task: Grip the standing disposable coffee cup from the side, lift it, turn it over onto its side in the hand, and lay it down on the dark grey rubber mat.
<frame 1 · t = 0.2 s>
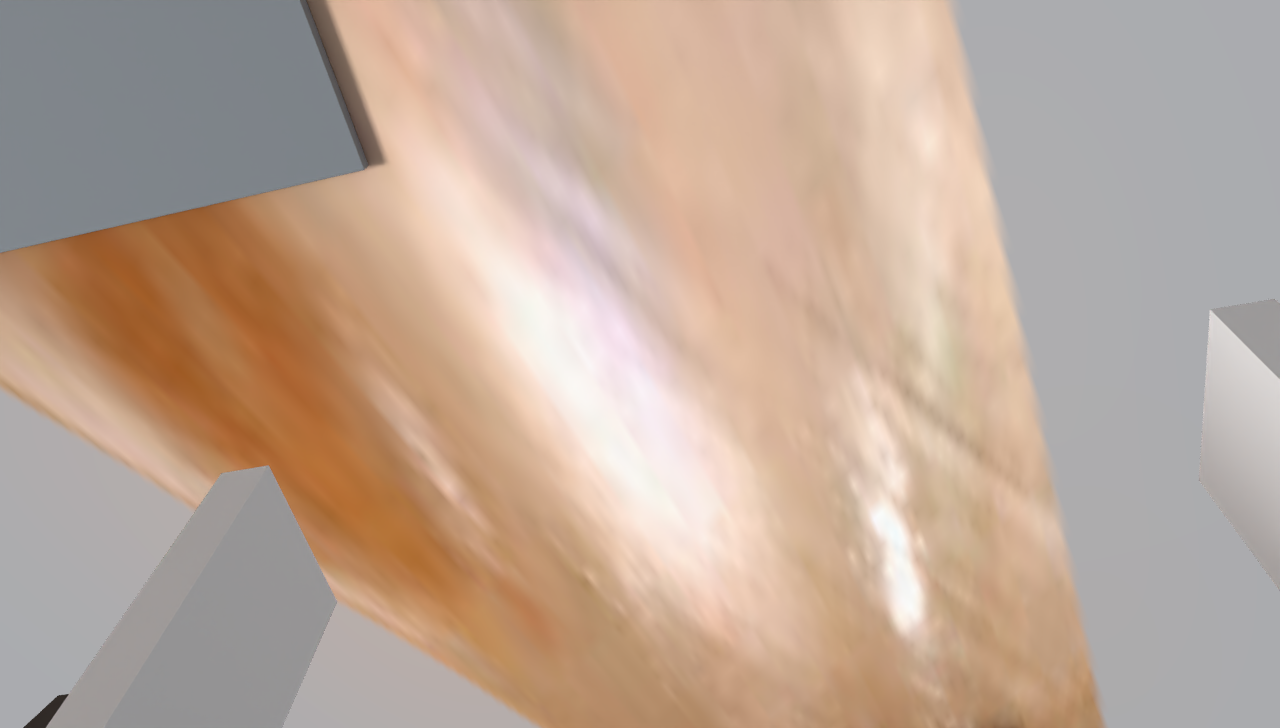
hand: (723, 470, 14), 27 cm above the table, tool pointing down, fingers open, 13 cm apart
mat: (62, 9, 38), on the table
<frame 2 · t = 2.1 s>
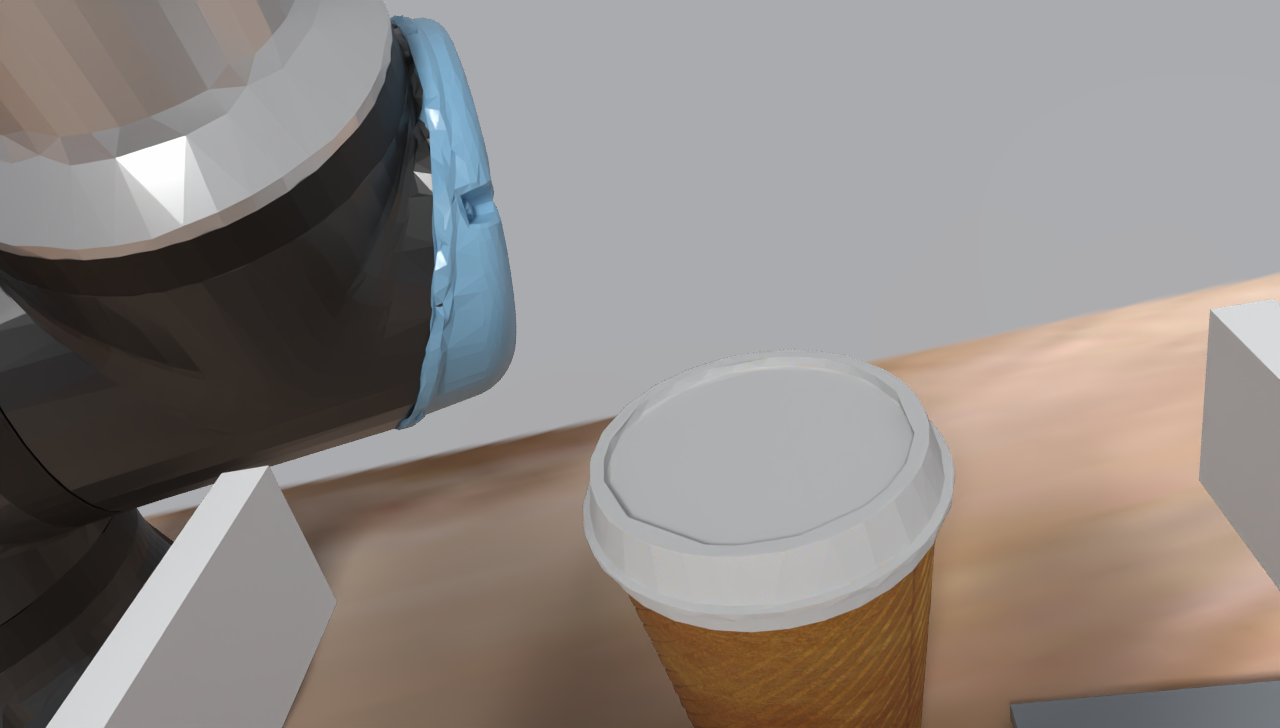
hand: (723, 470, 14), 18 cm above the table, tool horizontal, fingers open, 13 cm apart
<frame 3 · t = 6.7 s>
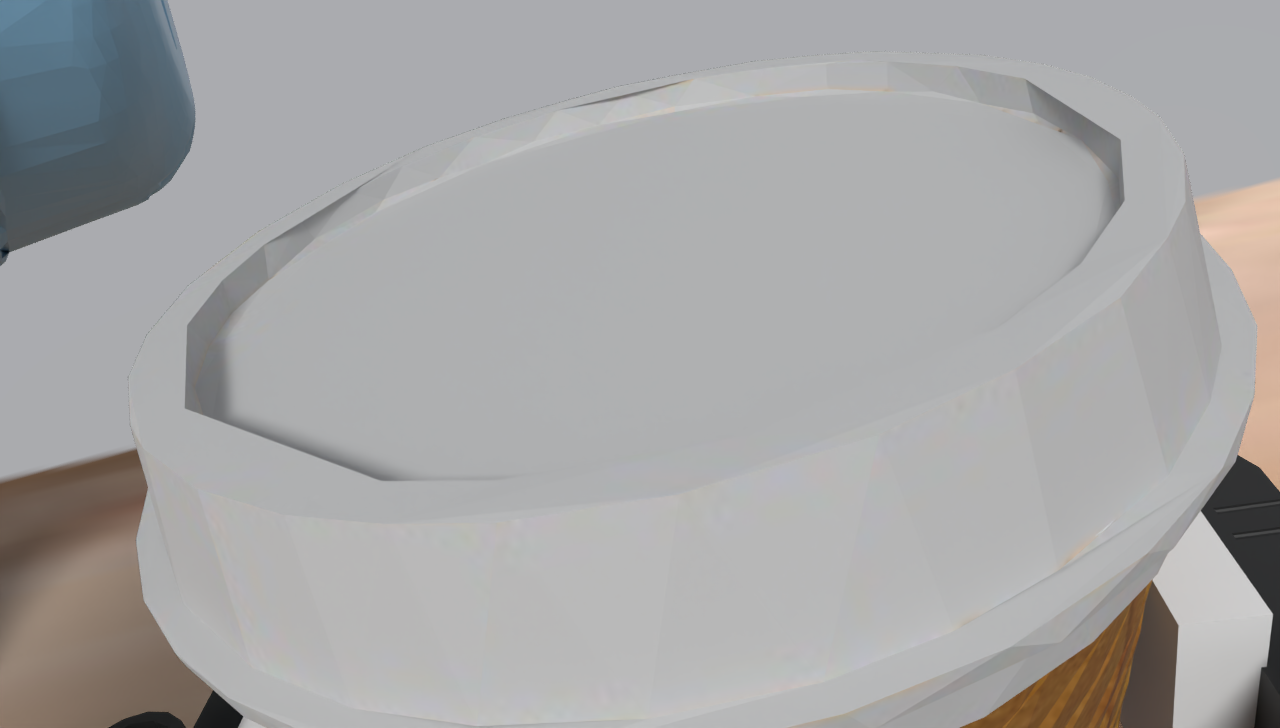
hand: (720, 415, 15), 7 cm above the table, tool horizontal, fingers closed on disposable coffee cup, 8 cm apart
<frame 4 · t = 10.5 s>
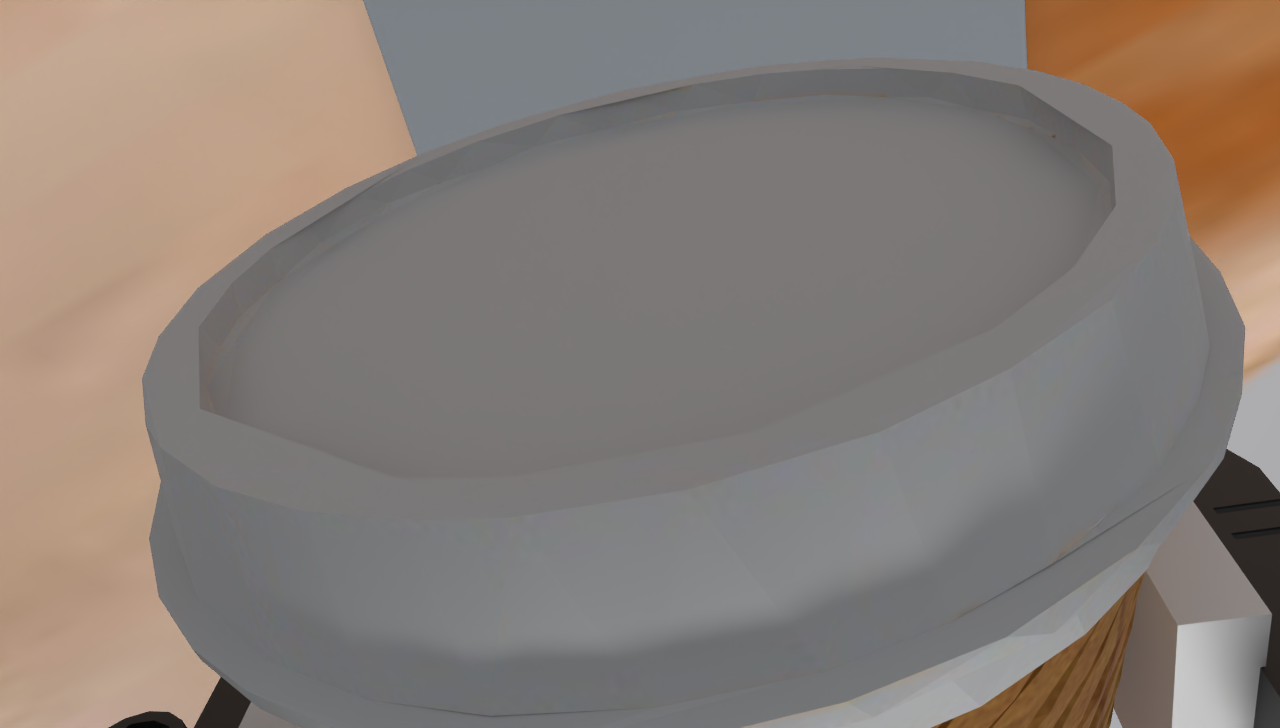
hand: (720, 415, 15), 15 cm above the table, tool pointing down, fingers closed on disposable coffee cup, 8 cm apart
mat: (713, 122, 28), on the table
when the fingers open (3 cm above the table, at t = 13.3 s): disposable coffee cup drops 4 cm, resting on mat.
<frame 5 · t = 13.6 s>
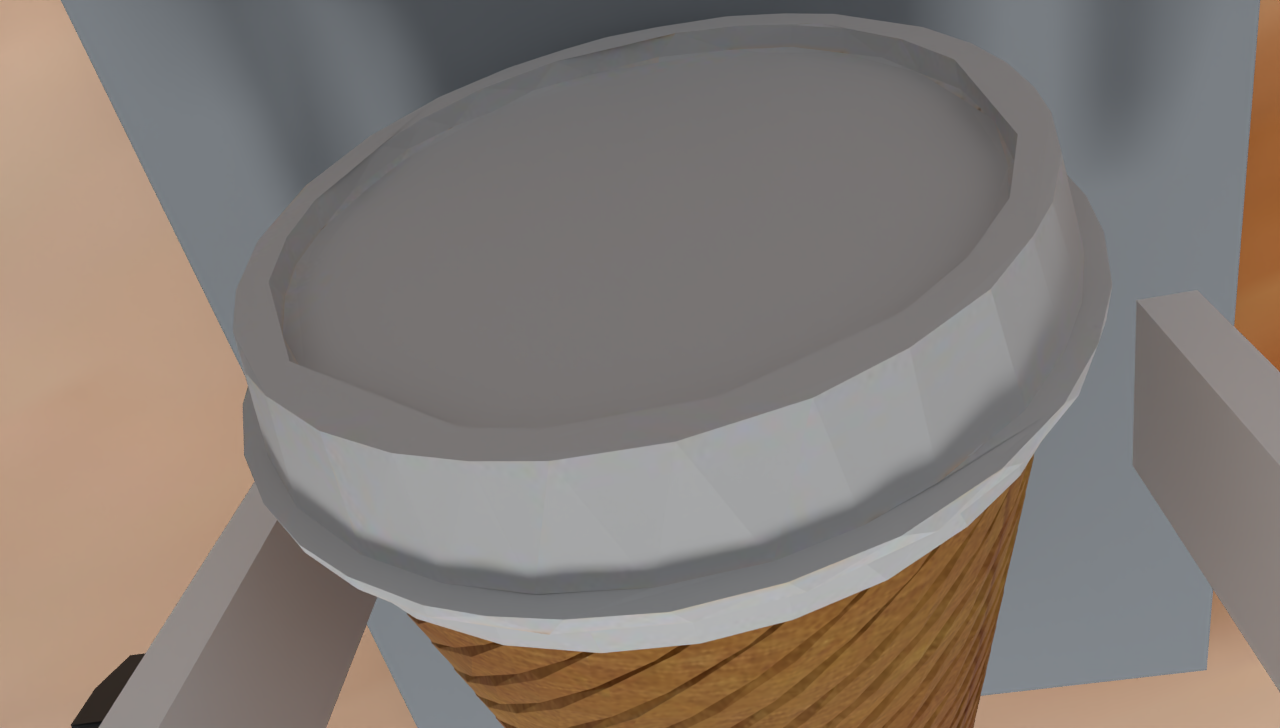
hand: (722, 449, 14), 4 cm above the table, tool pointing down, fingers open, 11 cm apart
mat: (717, 330, 18), on the table
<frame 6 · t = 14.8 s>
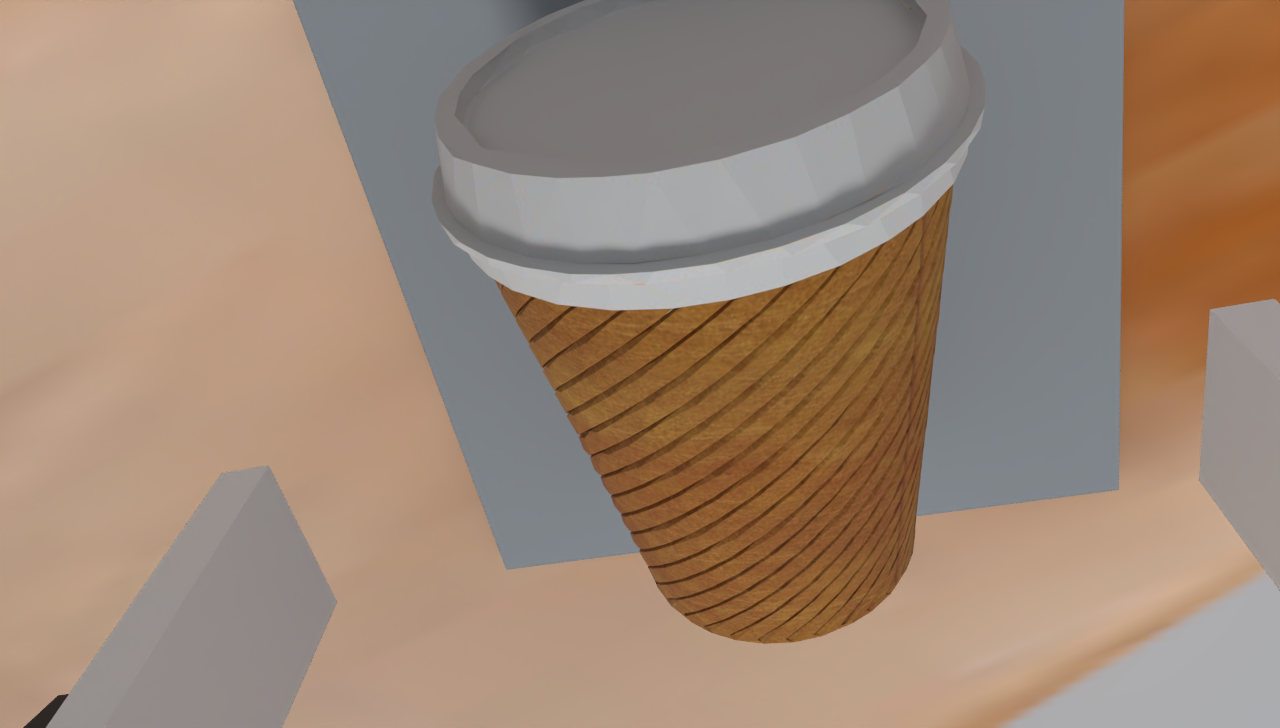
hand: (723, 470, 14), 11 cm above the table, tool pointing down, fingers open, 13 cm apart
mat: (737, 206, 24), on the table
disposable coffee cup: (779, 540, 24), point 4 cm above the table, touching mat
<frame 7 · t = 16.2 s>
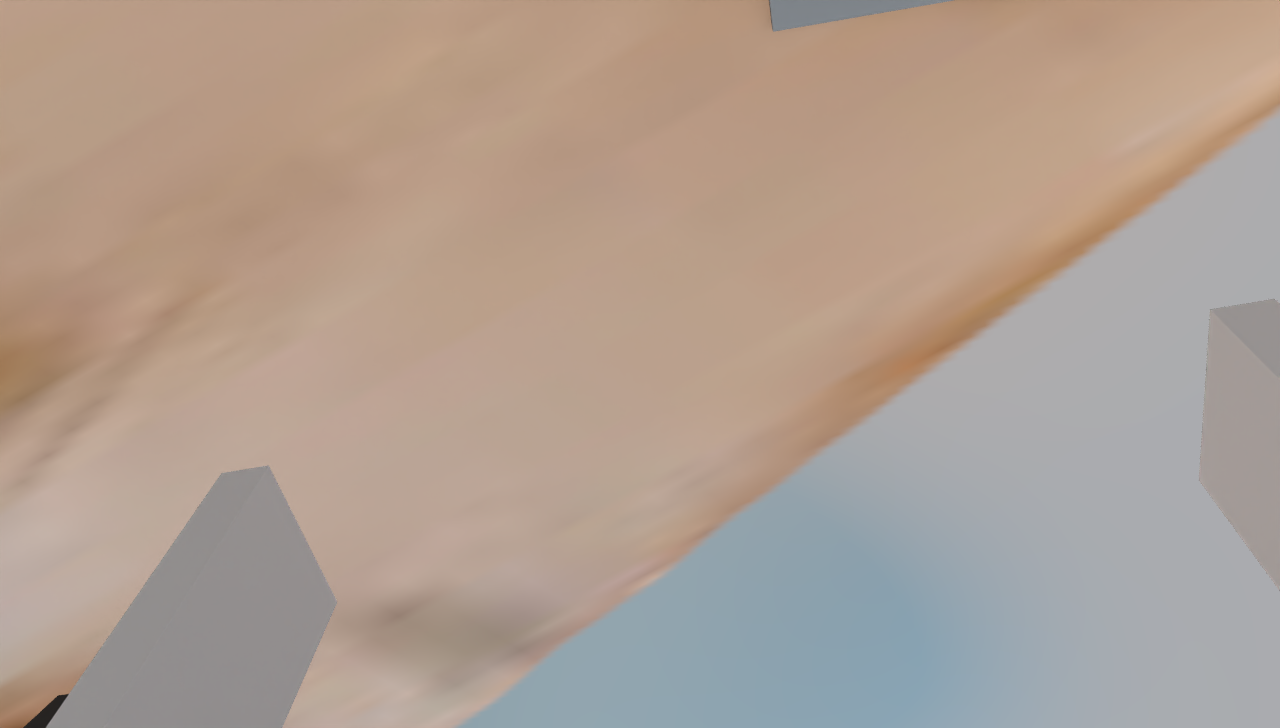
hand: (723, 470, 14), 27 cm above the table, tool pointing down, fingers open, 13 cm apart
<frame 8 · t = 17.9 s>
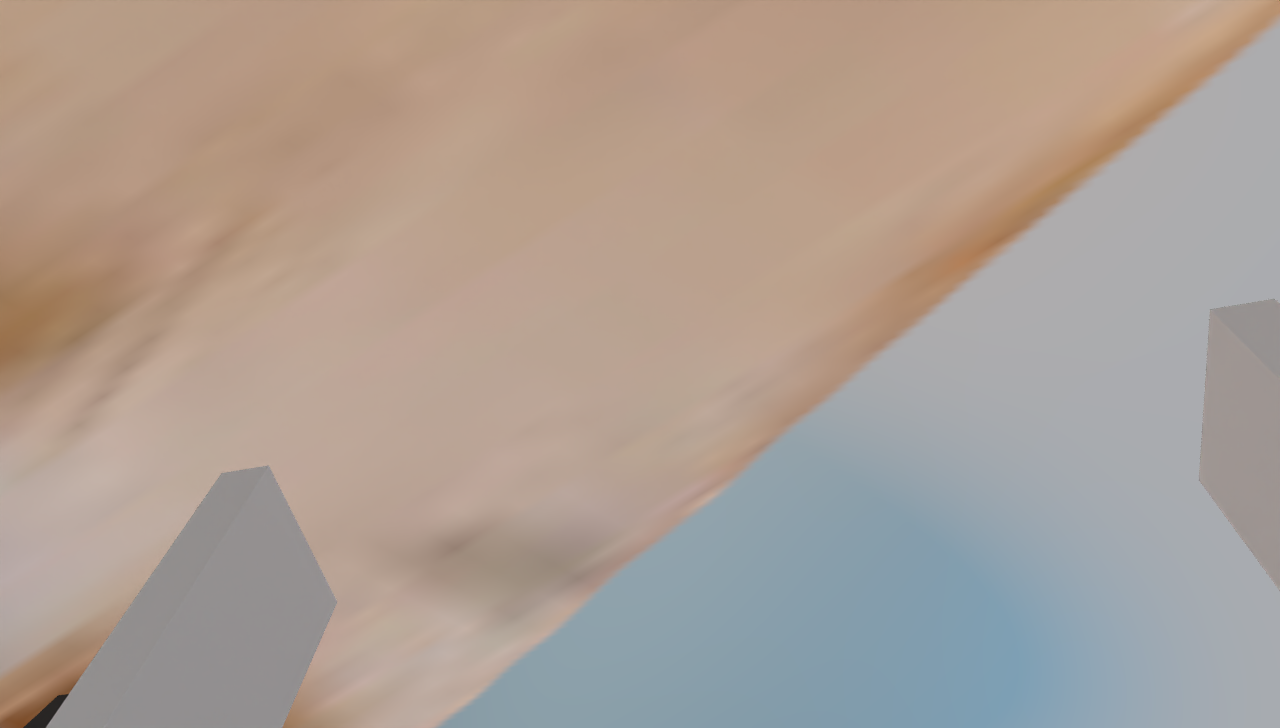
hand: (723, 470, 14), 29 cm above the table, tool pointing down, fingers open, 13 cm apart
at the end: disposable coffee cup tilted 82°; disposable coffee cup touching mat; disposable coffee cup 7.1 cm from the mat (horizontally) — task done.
